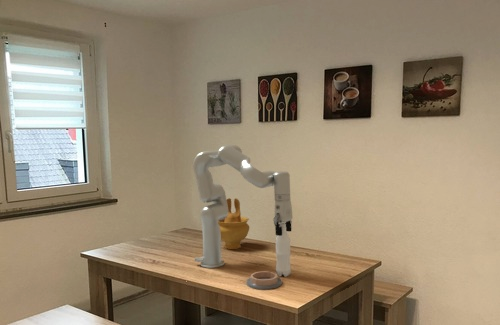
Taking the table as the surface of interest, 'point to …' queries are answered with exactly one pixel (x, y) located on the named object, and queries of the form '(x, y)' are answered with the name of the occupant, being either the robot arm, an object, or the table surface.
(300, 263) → the table surface
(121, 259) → the table surface
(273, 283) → the ring plate
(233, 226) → the decorative bowl
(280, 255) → the water bottle
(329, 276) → the table surface
